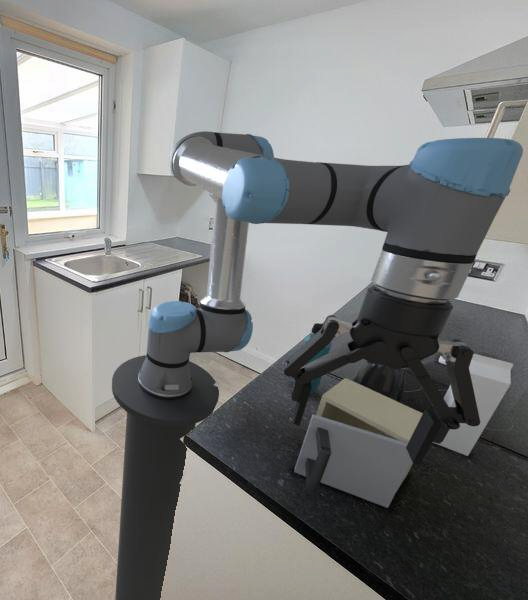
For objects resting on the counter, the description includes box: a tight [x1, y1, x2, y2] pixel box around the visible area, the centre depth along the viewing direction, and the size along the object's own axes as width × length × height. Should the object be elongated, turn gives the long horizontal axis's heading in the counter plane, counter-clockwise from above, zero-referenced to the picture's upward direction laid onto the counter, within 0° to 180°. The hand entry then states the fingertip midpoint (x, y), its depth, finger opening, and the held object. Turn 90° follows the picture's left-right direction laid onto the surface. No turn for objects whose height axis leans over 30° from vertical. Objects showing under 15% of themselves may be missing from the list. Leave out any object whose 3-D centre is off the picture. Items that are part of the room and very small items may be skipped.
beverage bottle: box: [291, 322, 332, 393], centre depth 83 cm, size 6×7×20 cm
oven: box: [315, 377, 423, 491], centre depth 62 cm, size 11×15×14 cm
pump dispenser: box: [352, 361, 410, 403], centre depth 80 cm, size 10×10×15 cm
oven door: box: [294, 413, 412, 509], centre depth 53 cm, size 7×15×14 cm, turn 64°
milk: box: [432, 353, 514, 457], centre depth 67 cm, size 6×6×22 cm
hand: (350, 436), depth 43 cm, fingers open, 13 cm apart
